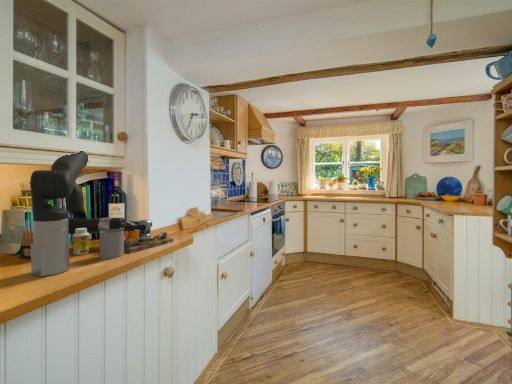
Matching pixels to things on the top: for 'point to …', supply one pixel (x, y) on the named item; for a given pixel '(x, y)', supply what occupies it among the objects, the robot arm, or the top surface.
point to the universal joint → (144, 231)
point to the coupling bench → (146, 243)
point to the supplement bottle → (80, 241)
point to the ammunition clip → (26, 243)
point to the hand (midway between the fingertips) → (148, 225)
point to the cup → (111, 243)
